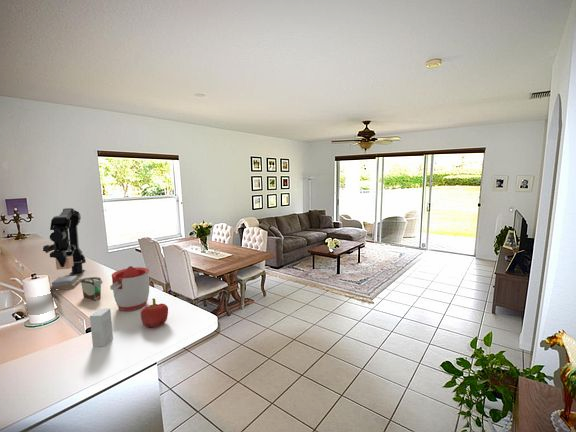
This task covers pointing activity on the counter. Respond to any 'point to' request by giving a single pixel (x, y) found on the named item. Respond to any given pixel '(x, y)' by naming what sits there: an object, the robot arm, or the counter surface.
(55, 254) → the robot arm
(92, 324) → the skincare box
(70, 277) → the grey slab
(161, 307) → the vegetable
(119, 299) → the citrus juicer
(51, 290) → the walnut slab
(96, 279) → the food container
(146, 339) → the counter surface
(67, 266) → the terracotta block
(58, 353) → the counter surface
